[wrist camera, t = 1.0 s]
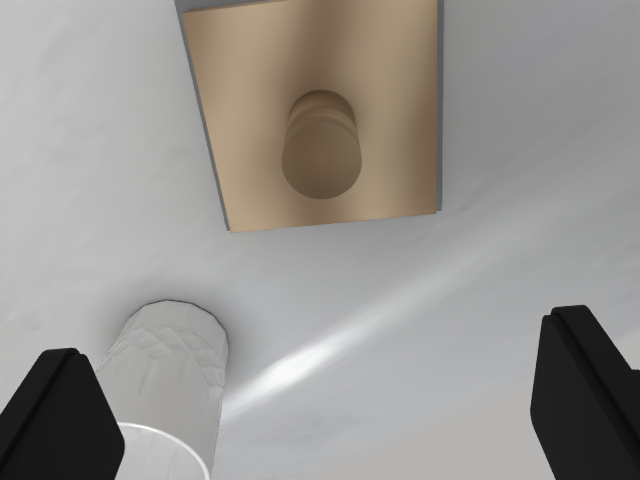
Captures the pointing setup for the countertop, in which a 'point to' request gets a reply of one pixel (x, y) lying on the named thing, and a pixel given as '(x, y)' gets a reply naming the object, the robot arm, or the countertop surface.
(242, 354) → the countertop surface
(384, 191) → the lid
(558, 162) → the countertop surface
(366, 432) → the countertop surface
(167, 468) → the white cup
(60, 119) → the countertop surface
